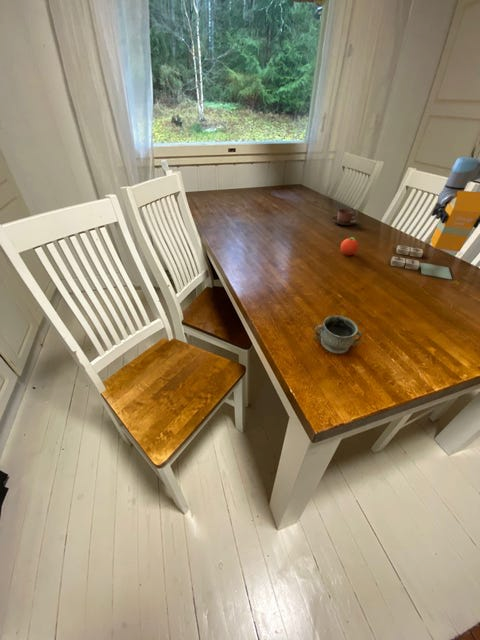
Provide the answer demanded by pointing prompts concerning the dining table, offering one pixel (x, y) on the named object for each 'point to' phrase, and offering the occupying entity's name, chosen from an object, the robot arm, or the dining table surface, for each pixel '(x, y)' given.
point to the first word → (409, 251)
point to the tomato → (349, 246)
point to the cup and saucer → (345, 217)
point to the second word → (422, 267)
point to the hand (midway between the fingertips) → (460, 221)
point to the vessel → (338, 334)
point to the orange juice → (457, 221)
